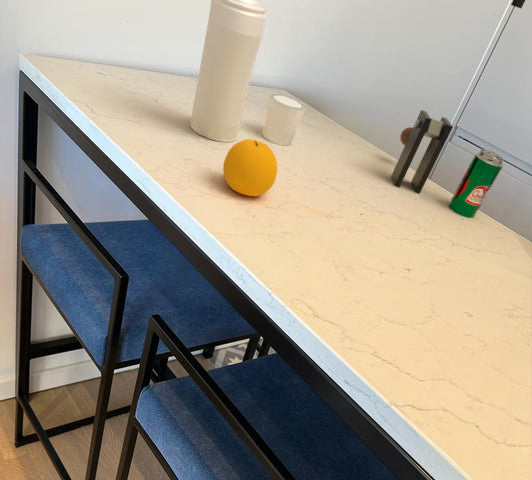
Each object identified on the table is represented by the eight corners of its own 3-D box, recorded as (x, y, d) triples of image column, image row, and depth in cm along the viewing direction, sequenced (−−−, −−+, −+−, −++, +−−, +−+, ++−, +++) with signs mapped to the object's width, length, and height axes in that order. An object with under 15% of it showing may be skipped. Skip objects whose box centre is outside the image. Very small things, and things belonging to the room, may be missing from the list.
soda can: (457, 224, 102) (492, 160, 94) (439, 209, 105) (472, 146, 97) (475, 224, 104) (512, 162, 97) (457, 210, 107) (491, 149, 100)
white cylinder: (270, 145, 104) (282, 106, 99) (252, 129, 108) (263, 91, 103) (300, 148, 107) (313, 111, 103) (282, 132, 111) (293, 95, 107)
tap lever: (395, 144, 111) (400, 126, 110) (411, 149, 111) (417, 131, 111) (422, 134, 97) (429, 114, 97) (441, 140, 98) (447, 120, 97)
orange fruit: (277, 206, 85) (293, 158, 80) (227, 200, 81) (241, 150, 77) (259, 180, 90) (273, 134, 85) (212, 174, 86) (224, 125, 82)
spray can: (252, 151, 99) (299, -12, 83) (196, 145, 93) (235, -31, 78) (225, 123, 106) (264, -33, 90) (172, 116, 100) (204, -51, 85)
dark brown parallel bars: (378, 175, 109) (410, 102, 101) (416, 187, 110) (451, 116, 102) (385, 197, 101) (421, 120, 93) (426, 209, 103) (465, 134, 94)
